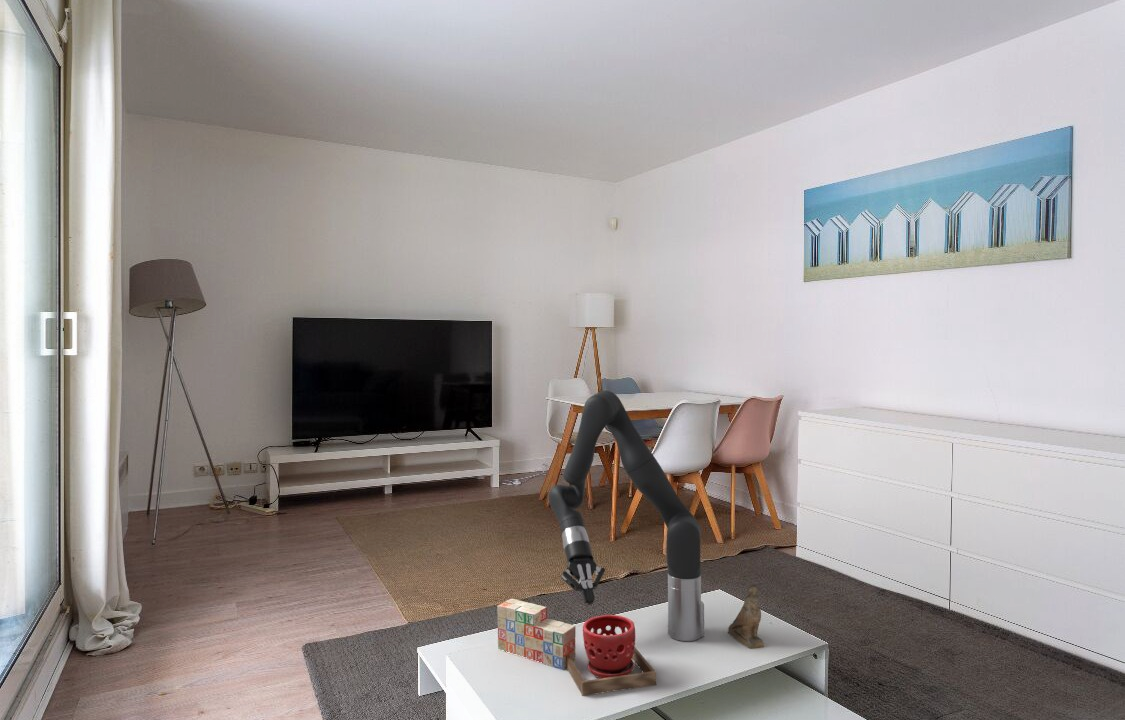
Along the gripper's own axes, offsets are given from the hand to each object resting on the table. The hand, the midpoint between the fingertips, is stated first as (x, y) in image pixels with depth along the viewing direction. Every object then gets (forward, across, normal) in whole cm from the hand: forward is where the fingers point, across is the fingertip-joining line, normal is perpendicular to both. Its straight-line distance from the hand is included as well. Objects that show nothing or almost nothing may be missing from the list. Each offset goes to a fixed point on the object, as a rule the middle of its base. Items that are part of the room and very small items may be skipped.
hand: (590, 603), depth 179 cm
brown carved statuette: (+14, +43, +3) cm, 45 cm away
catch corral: (+20, 0, -3) cm, 20 cm away
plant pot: (+19, 0, -2) cm, 19 cm away
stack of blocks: (+9, -15, +9) cm, 20 cm away
